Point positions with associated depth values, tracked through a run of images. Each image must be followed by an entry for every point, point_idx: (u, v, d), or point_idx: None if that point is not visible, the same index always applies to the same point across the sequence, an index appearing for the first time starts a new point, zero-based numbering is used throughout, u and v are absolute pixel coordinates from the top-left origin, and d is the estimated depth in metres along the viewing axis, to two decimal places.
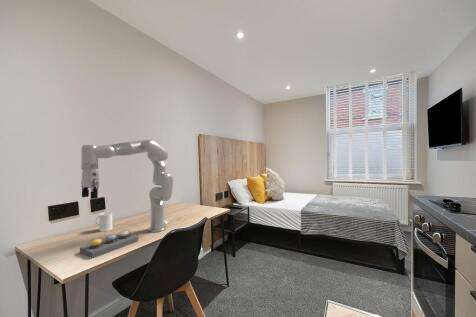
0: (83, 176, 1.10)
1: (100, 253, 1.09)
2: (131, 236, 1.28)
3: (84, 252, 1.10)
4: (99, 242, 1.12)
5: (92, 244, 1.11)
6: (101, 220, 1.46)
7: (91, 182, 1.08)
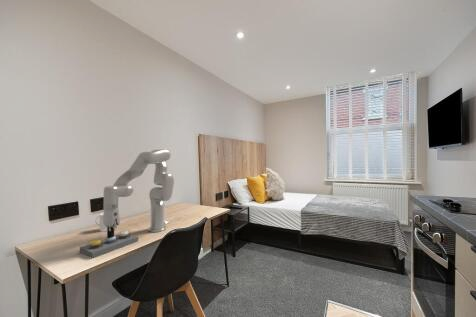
0: (105, 215, 1.19)
1: (100, 253, 1.09)
2: (131, 236, 1.28)
3: (84, 252, 1.10)
4: (99, 242, 1.12)
5: (92, 244, 1.11)
6: (101, 220, 1.46)
7: None
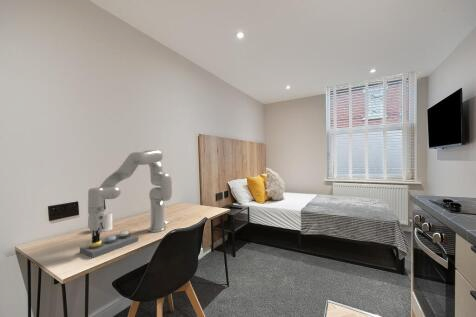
0: (89, 219, 1.12)
1: (100, 253, 1.09)
2: (131, 236, 1.28)
3: (84, 252, 1.10)
4: (99, 244, 1.12)
5: (92, 246, 1.11)
6: None
7: None
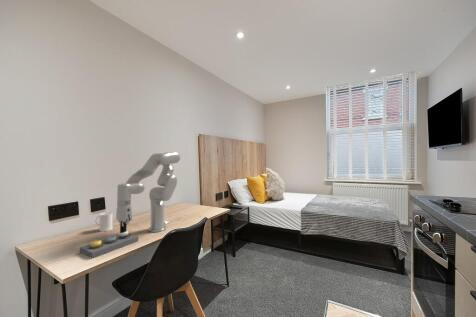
0: (118, 211, 1.26)
1: (100, 253, 1.09)
2: (131, 236, 1.28)
3: (84, 252, 1.10)
4: (99, 244, 1.12)
5: (92, 246, 1.11)
6: (101, 220, 1.46)
7: None
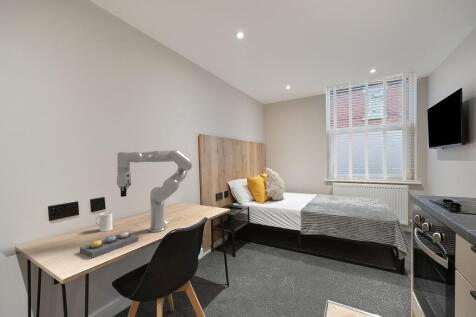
0: (118, 177, 1.37)
1: (100, 253, 1.09)
2: (131, 236, 1.28)
3: (84, 252, 1.10)
4: (99, 244, 1.12)
5: (92, 246, 1.11)
6: (101, 220, 1.46)
7: (125, 185, 1.35)
